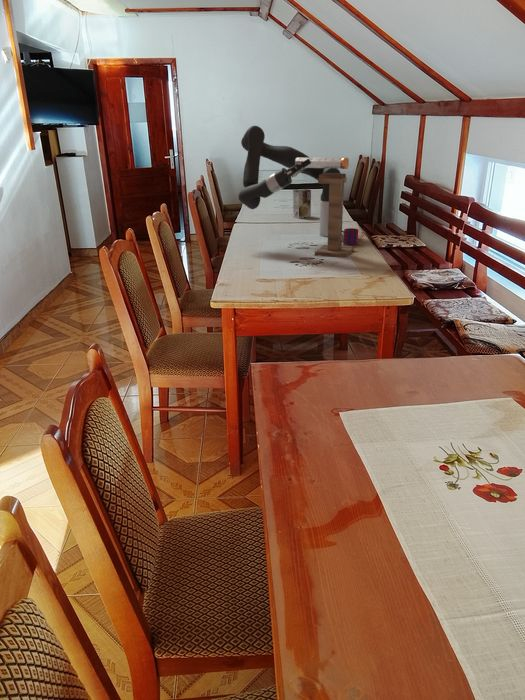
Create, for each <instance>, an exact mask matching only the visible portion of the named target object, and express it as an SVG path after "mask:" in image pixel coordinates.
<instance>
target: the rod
mask: <svg viewBox="0 0 525 700" xmlns="http://www.w3.org/2000/svg"><path fill="white" fill-rule="evenodd" d="M307 159H310V161H311V164H309V165H308V166H306V167H304V168H337V169H341V170H348V169H349V164H350V160H349V157H310V158H296V160H295V165H297V164H299V163H302V162H304V161H305V160H307Z"/></svg>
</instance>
